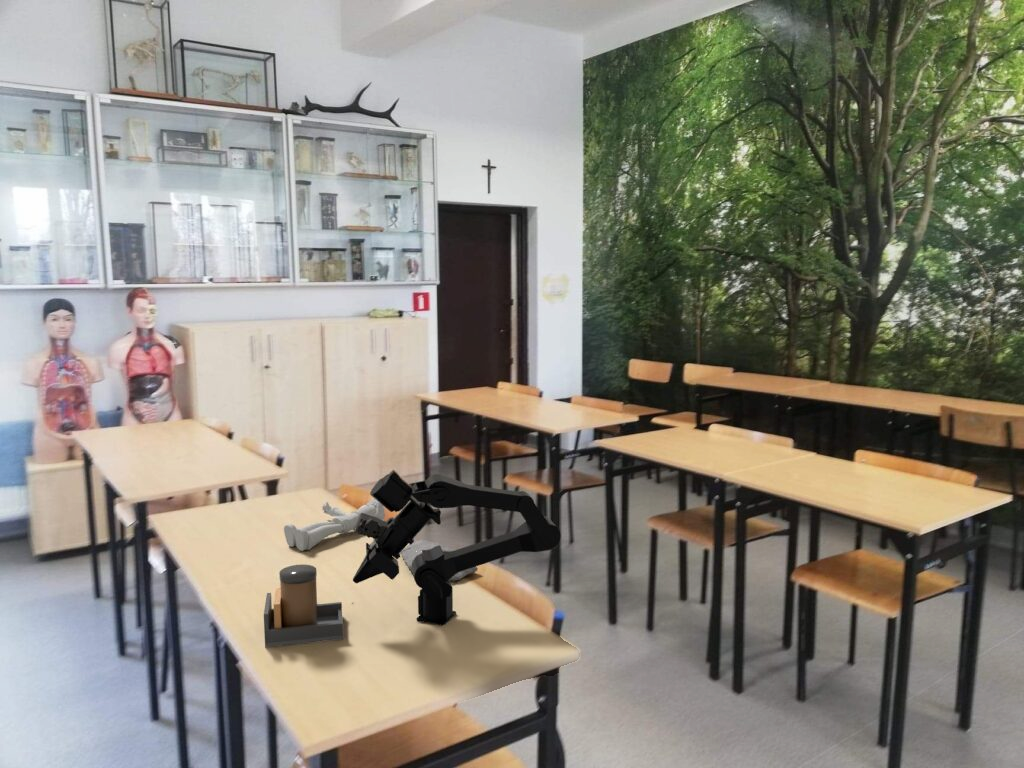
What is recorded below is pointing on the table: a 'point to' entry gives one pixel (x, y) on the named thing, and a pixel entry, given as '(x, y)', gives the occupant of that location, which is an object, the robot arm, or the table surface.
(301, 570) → the jar
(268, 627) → the tray
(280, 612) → the block
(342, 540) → the table surface
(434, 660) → the table surface
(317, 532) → the toy
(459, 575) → the stone
